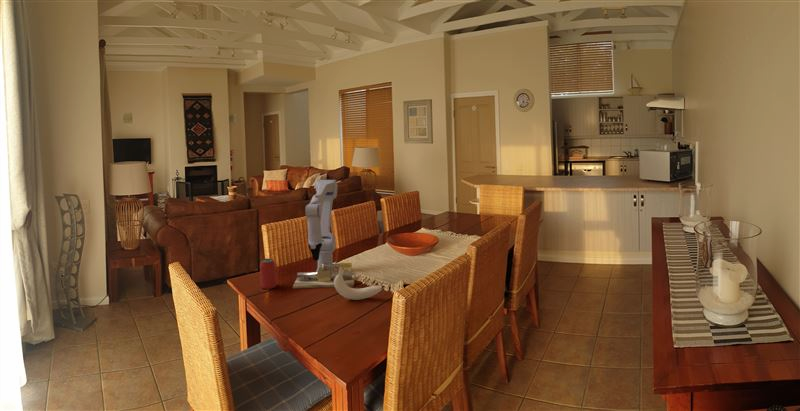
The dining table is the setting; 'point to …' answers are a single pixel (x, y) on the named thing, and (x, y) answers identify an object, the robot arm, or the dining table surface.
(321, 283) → the valve board
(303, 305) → the dining table surface
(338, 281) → the banana
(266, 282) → the beer can
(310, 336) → the dining table surface
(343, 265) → the lever
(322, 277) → the valve
